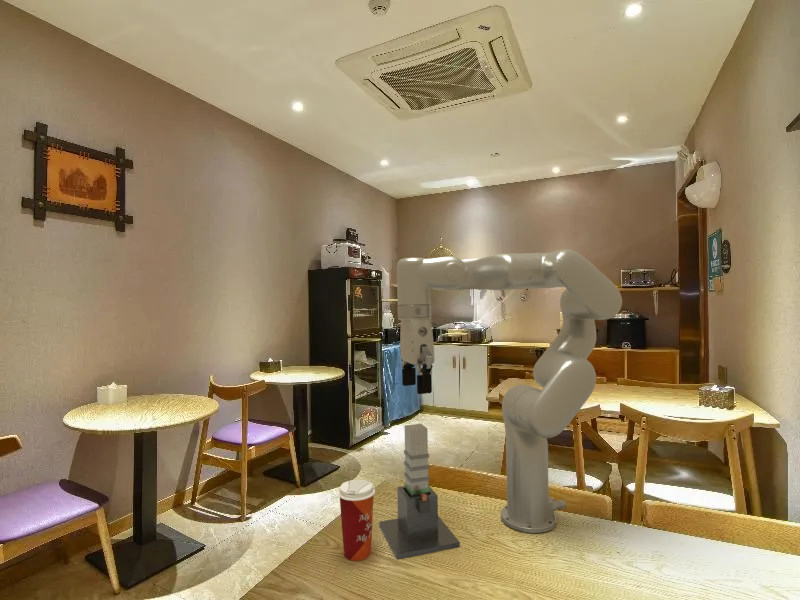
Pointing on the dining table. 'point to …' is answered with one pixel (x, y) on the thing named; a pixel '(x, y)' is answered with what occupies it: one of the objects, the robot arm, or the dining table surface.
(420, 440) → the column
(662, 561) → the dining table surface
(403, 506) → the stand base
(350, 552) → the paper cup
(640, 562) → the dining table surface
